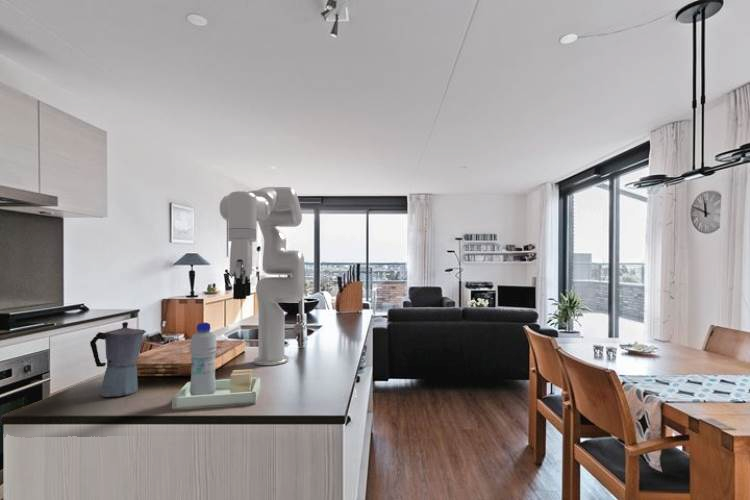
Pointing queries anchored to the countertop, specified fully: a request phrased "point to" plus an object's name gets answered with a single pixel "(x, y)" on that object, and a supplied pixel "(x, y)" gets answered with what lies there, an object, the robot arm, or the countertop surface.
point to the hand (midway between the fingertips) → (242, 297)
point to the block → (241, 381)
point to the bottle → (203, 361)
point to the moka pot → (119, 360)
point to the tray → (216, 396)
